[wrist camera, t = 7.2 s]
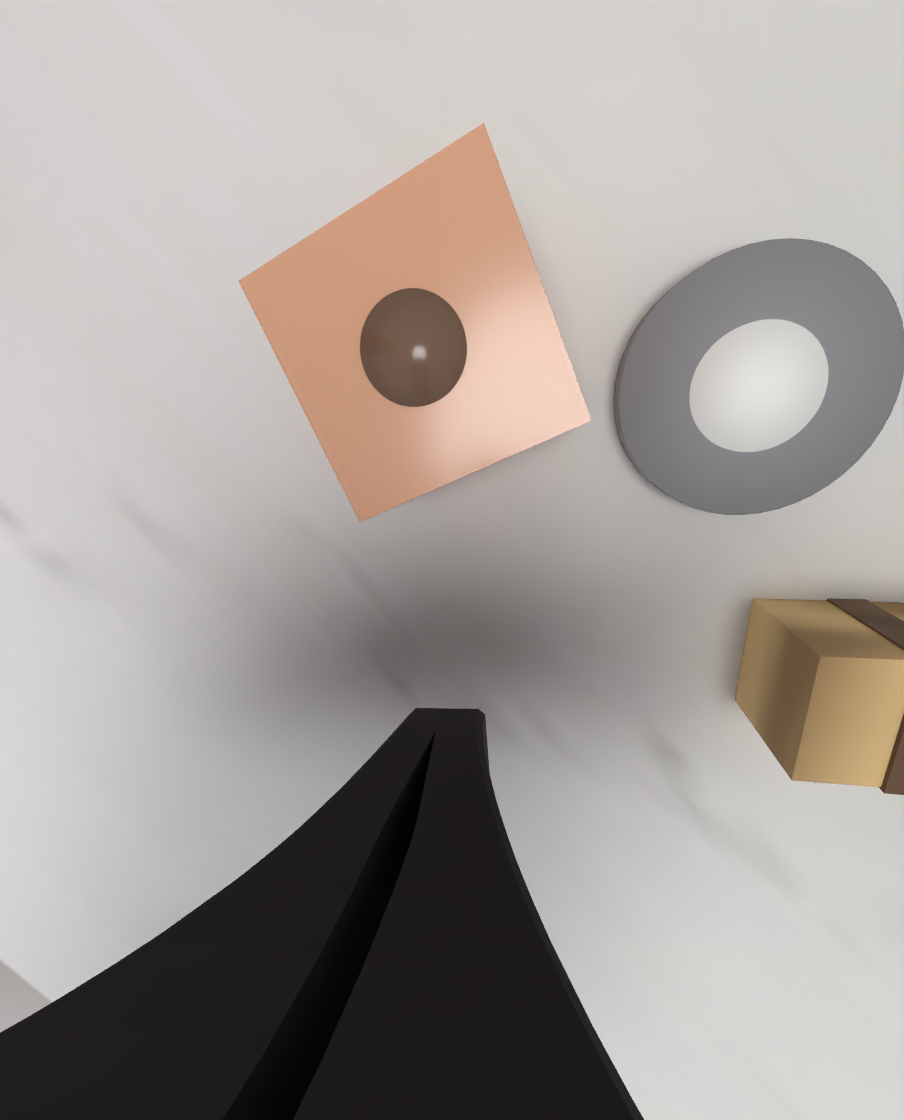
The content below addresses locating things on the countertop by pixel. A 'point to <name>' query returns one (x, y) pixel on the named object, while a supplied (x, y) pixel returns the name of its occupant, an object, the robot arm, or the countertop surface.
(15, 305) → the countertop surface
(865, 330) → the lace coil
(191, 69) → the countertop surface
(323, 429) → the loose bead
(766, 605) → the tan wooden bar
